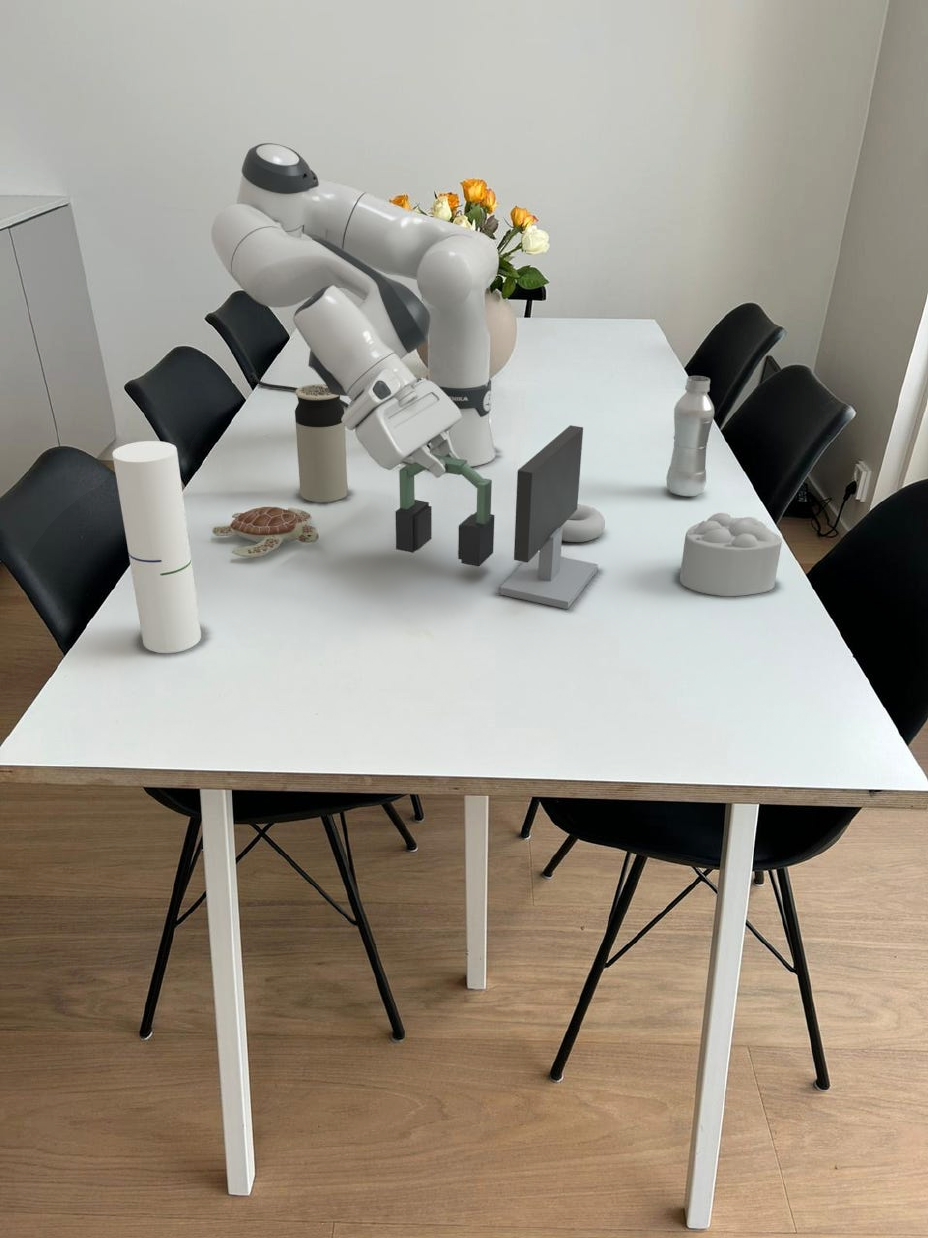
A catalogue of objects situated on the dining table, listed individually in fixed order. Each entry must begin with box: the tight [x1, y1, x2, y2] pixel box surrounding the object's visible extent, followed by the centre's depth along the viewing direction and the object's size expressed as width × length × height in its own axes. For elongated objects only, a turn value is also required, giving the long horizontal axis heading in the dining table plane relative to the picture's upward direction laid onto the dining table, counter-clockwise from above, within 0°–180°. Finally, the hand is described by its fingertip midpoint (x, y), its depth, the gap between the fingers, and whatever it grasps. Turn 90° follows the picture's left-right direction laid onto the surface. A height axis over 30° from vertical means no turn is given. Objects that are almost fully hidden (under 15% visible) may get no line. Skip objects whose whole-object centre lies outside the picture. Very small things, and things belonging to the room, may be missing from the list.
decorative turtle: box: [211, 506, 320, 558], centre depth 155 cm, size 18×17×5 cm
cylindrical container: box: [111, 440, 202, 654], centre depth 123 cm, size 7×7×25 cm
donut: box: [560, 503, 606, 543], centre depth 159 cm, size 10×3×10 cm
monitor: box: [499, 424, 599, 610], centre depth 139 cm, size 10×20×20 cm, turn 156°
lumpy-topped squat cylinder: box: [679, 512, 783, 597], centre depth 144 cm, size 10×13×9 cm
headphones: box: [394, 454, 495, 568], centre depth 144 cm, size 13×5×14 cm, turn 66°
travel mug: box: [294, 383, 349, 504], centre depth 167 cm, size 8×8×18 cm
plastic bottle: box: [665, 375, 715, 497], centre depth 170 cm, size 6×7×20 cm
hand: (449, 469), depth 141 cm, fingers closed on headphones, 2 cm apart
